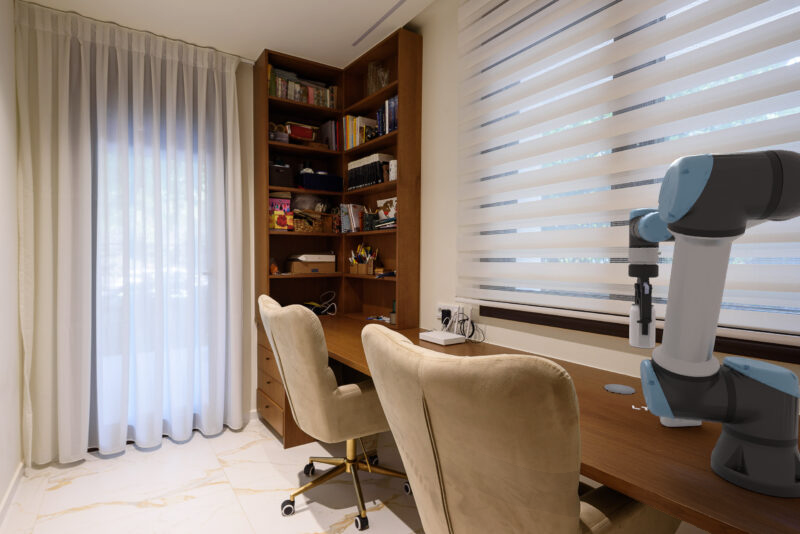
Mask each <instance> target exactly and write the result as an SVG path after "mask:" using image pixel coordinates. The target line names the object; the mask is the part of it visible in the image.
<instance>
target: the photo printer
mask: <svg viewBox="0 0 800 534" xmlns="http://www.w3.org/2000/svg"><path fill="white" fill-rule="evenodd" d="M659 420H660V421H659V422H660V423H661V425H663V426H665V427H672V428H673V427H675V428H677V427H696V426H701V425H702V424H703V423H702V422H703V421H696V420H685V419H671V418H667V417H660V416H659Z"/></svg>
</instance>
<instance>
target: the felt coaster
mask: <svg viewBox="0 0 800 534" xmlns="http://www.w3.org/2000/svg"><path fill="white" fill-rule="evenodd" d="M603 387H604V388H605V389H606V390H605V389H604V388H603V389H604V390H605V391H607V390H608V391H607V392H609V391H611V392H610V393H612V392H615V393H614V394H616V393H621V394H620V395H626V394H627V395H633V394H632V393H634V394H635V393H636V389H635V388H633V387H631V386H629V385H624V384H615V383H610V384H605V385H604V386H603Z"/></svg>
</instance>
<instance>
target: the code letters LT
mask: <svg viewBox="0 0 800 534" xmlns="http://www.w3.org/2000/svg"><path fill="white" fill-rule="evenodd" d="M631 407H632V409H634V410H639V411H641V408H642V409H643V408H644V410H645V411H648V407H647V406H641V408H638V407H635V405H631Z"/></svg>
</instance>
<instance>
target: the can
mask: <svg viewBox="0 0 800 534" xmlns="http://www.w3.org/2000/svg"><path fill="white" fill-rule="evenodd" d="M656 313H657V311H656V309H655V305H654V304H652V322H650V347H644V346H638V336H639V323H637V320H640V313H639V304H635V303H631V307H630V308H629V330H628V331H629V333H628V334H629V335H628V336H629V337H628V338H629V339H628V343H629V346H630V347H633V348H637V349H648V350H649V349H655V348H656Z"/></svg>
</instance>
